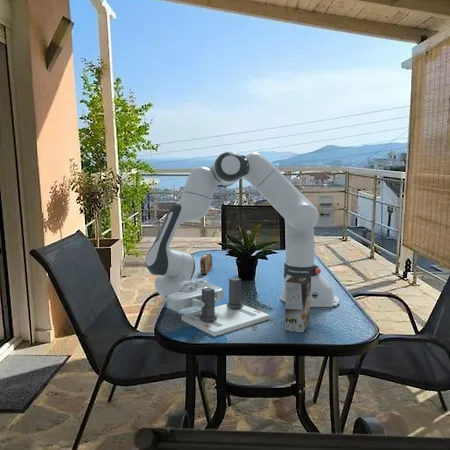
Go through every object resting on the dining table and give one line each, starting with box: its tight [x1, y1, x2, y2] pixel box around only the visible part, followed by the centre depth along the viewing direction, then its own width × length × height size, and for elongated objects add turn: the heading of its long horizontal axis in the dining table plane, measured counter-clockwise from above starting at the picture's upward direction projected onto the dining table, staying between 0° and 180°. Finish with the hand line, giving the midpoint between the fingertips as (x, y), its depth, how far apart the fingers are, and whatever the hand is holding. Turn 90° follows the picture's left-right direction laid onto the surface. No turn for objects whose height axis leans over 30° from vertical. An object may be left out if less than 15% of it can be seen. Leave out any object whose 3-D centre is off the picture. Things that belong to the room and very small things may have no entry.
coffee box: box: [284, 275, 311, 333], centre depth 138 cm, size 9×6×16 cm
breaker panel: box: [180, 303, 271, 338], centre depth 145 cm, size 18×24×2 cm
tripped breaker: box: [200, 288, 217, 322], centre depth 139 cm, size 4×4×10 cm
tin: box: [199, 253, 213, 275], centre depth 209 cm, size 15×3×8 cm, turn 168°
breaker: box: [226, 277, 244, 309], centre depth 152 cm, size 4×4×10 cm
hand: (209, 303), depth 139 cm, fingers closed on tripped breaker, 3 cm apart
